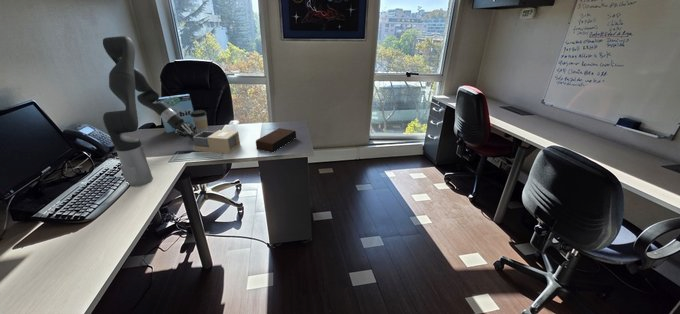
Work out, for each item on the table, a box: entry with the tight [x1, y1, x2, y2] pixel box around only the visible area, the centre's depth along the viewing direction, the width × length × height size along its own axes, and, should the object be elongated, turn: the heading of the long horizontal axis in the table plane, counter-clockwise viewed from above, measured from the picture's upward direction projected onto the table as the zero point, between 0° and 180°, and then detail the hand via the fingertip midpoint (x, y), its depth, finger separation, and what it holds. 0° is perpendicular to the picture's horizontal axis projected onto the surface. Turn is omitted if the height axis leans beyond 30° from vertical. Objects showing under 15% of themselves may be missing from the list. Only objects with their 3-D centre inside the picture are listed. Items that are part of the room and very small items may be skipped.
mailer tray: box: [192, 130, 236, 148], centre depth 161 cm, size 10×20×7 cm, turn 79°
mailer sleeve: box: [193, 129, 241, 155], centre depth 161 cm, size 12×22×9 cm, turn 79°
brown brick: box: [255, 127, 297, 153], centre depth 167 cm, size 24×12×6 cm, turn 155°
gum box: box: [155, 93, 196, 134], centre depth 186 cm, size 20×5×23 cm, turn 123°
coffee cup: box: [191, 109, 209, 135], centre depth 180 cm, size 9×9×15 cm
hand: (195, 139), depth 163 cm, fingers closed
